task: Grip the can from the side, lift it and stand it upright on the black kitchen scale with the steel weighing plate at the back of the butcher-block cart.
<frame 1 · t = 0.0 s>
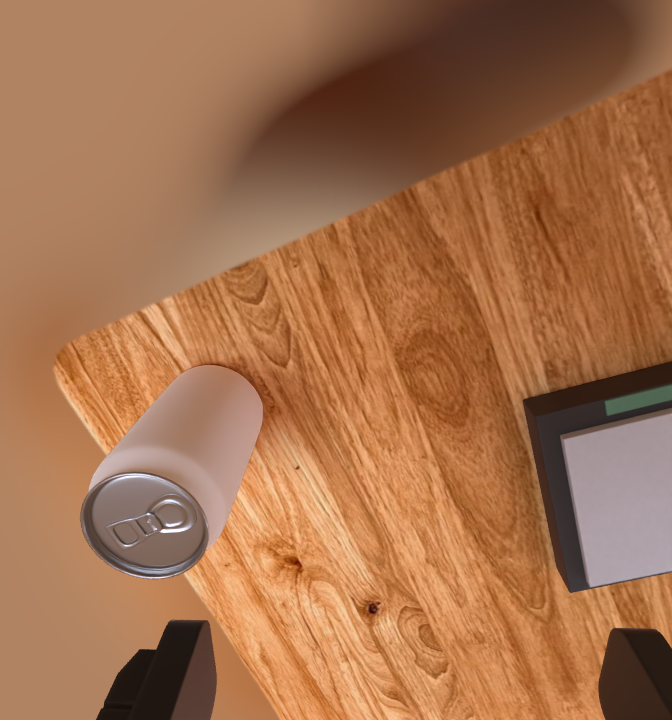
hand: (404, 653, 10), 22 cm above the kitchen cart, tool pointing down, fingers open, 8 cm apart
can: (216, 406, 33), on the kitchen cart
scale: (646, 464, 33), on the kitchen cart
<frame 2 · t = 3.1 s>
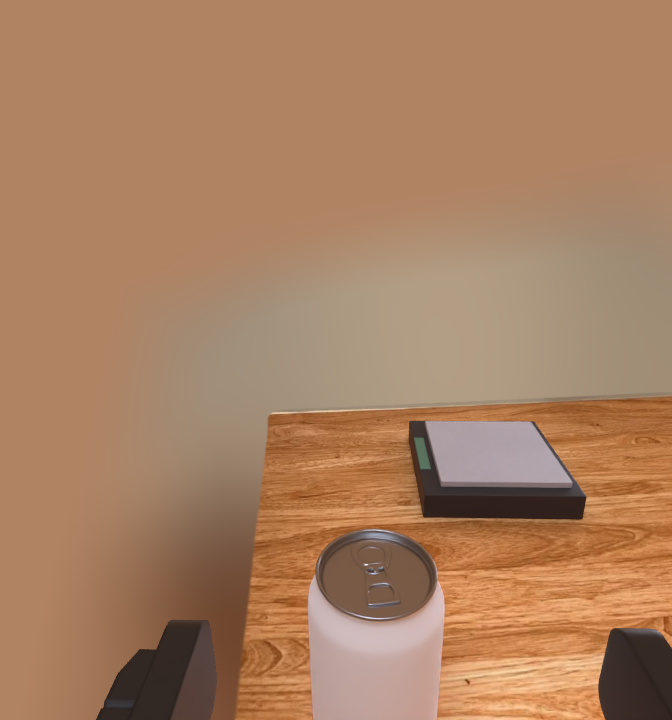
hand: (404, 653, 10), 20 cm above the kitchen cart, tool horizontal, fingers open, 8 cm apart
scale: (484, 473, 51), on the kitchen cart
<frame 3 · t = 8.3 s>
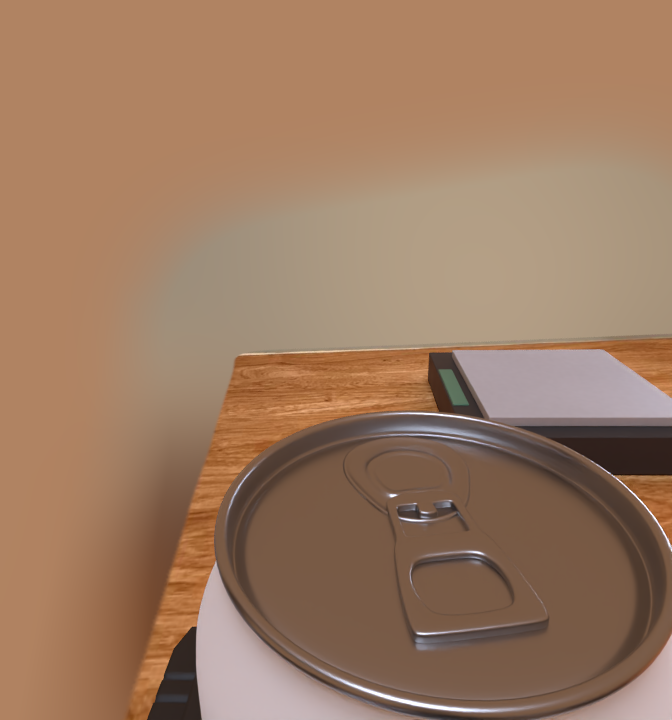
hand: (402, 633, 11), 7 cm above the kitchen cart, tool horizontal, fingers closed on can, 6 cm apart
scale: (543, 418, 35), on the kitchen cart
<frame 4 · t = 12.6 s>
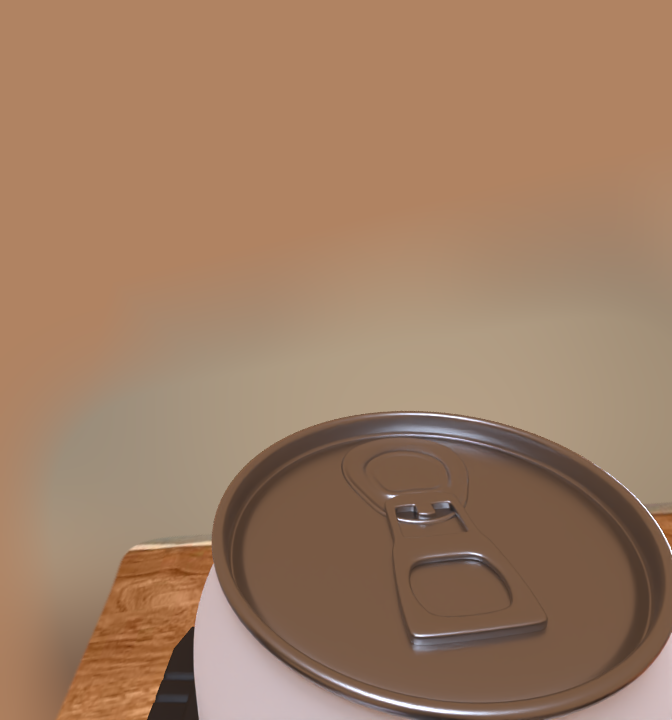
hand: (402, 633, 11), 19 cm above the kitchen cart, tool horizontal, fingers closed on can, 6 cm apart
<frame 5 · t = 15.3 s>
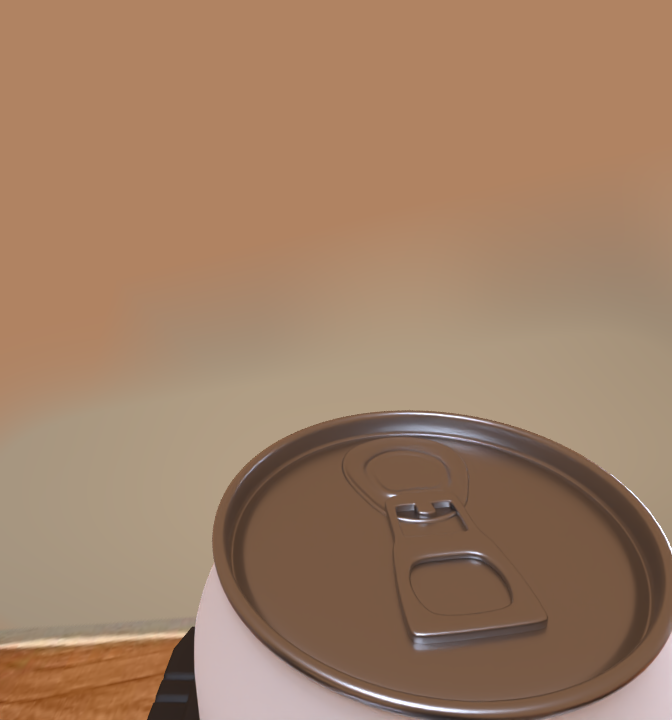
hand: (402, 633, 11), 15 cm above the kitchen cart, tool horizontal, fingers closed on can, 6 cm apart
when the fingers open (10 cm above the kitchen cart, at t = 17.3 s): can stays where it is, resting on scale.
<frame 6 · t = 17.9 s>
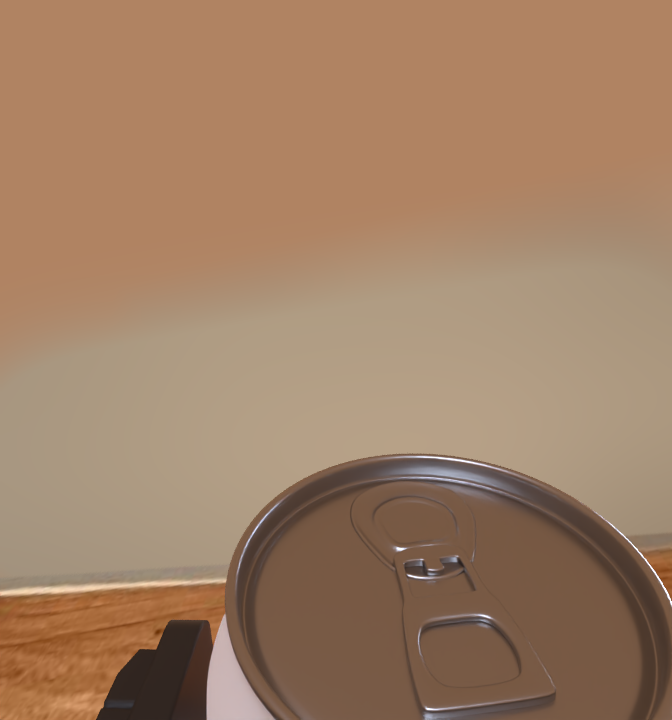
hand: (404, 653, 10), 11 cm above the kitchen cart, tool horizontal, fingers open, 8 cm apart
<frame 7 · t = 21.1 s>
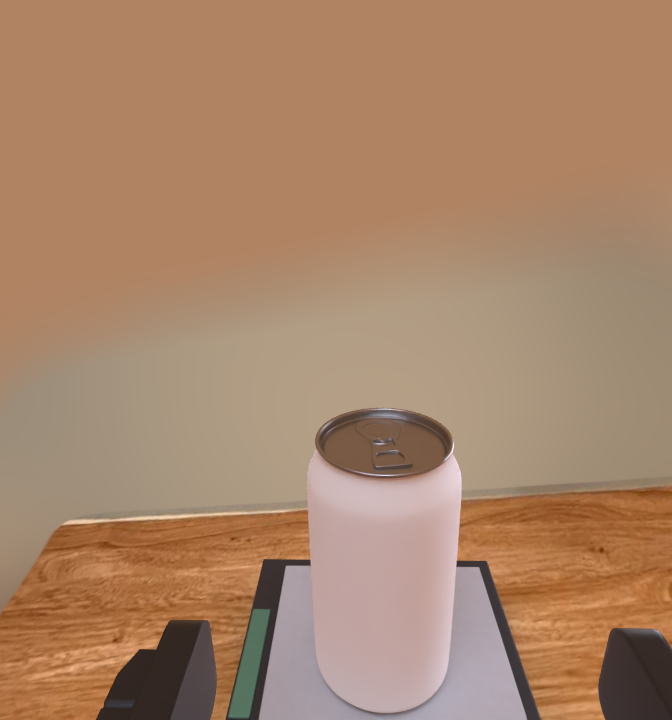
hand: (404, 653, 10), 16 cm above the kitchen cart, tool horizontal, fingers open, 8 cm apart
can: (381, 656, 25), point 3 cm above the kitchen cart, touching scale
scale: (378, 694, 26), on the kitchen cart
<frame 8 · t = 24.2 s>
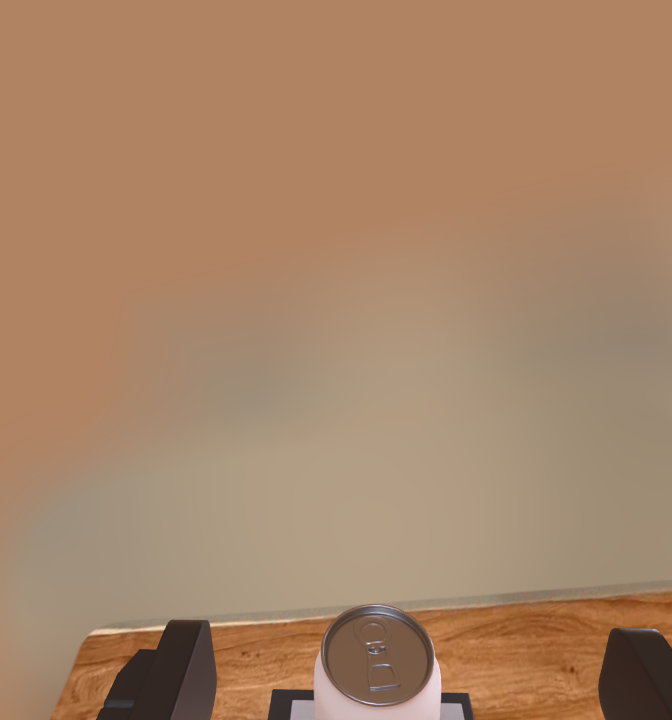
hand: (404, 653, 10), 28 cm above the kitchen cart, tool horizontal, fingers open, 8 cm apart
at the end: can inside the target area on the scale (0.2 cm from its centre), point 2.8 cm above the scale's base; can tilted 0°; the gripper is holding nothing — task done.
